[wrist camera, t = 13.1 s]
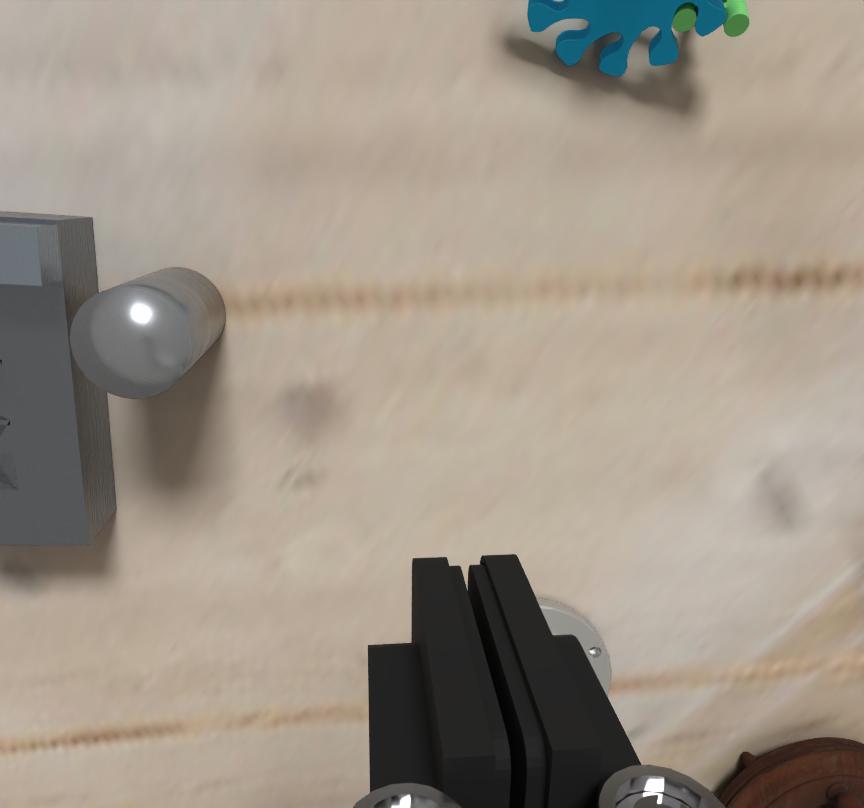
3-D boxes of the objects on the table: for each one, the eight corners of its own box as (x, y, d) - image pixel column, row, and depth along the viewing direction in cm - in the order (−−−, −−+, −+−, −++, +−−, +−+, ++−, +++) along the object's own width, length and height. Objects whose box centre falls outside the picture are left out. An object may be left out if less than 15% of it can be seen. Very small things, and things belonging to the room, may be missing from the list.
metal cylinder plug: (226, 356, 35) (190, 401, 27) (136, 352, 34) (74, 396, 27) (224, 270, 34) (187, 291, 26) (131, 264, 33) (65, 284, 25)
